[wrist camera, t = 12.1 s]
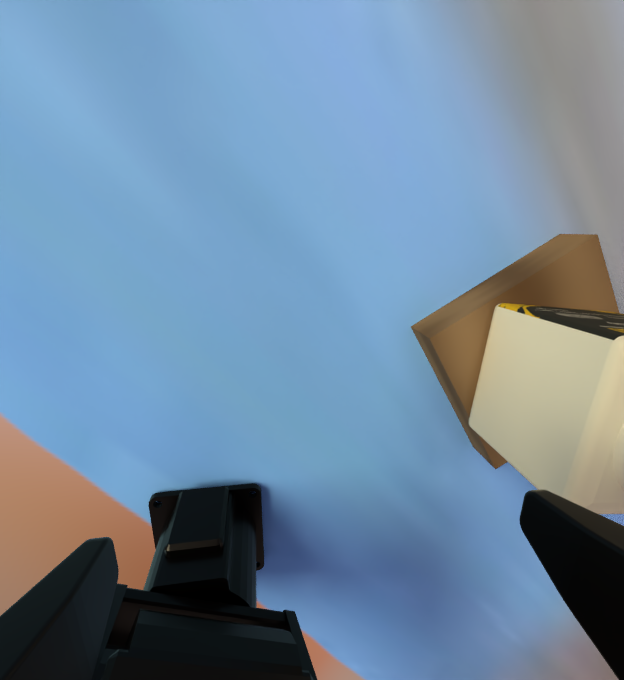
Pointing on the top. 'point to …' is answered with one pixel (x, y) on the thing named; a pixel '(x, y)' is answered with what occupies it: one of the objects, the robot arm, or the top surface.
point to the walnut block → (514, 288)
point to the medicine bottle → (556, 400)
